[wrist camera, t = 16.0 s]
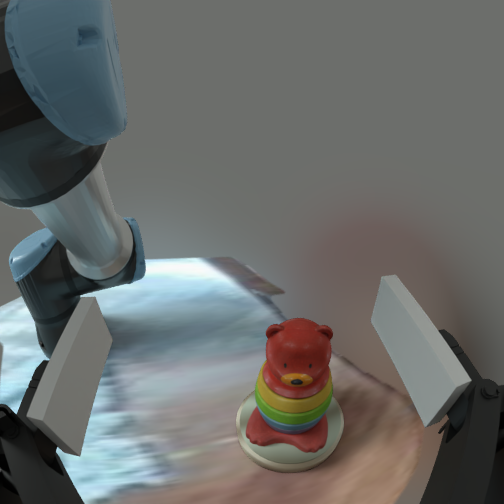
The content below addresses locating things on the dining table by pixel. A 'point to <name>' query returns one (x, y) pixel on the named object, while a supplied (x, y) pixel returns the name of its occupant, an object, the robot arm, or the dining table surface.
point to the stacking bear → (293, 387)
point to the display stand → (287, 455)
